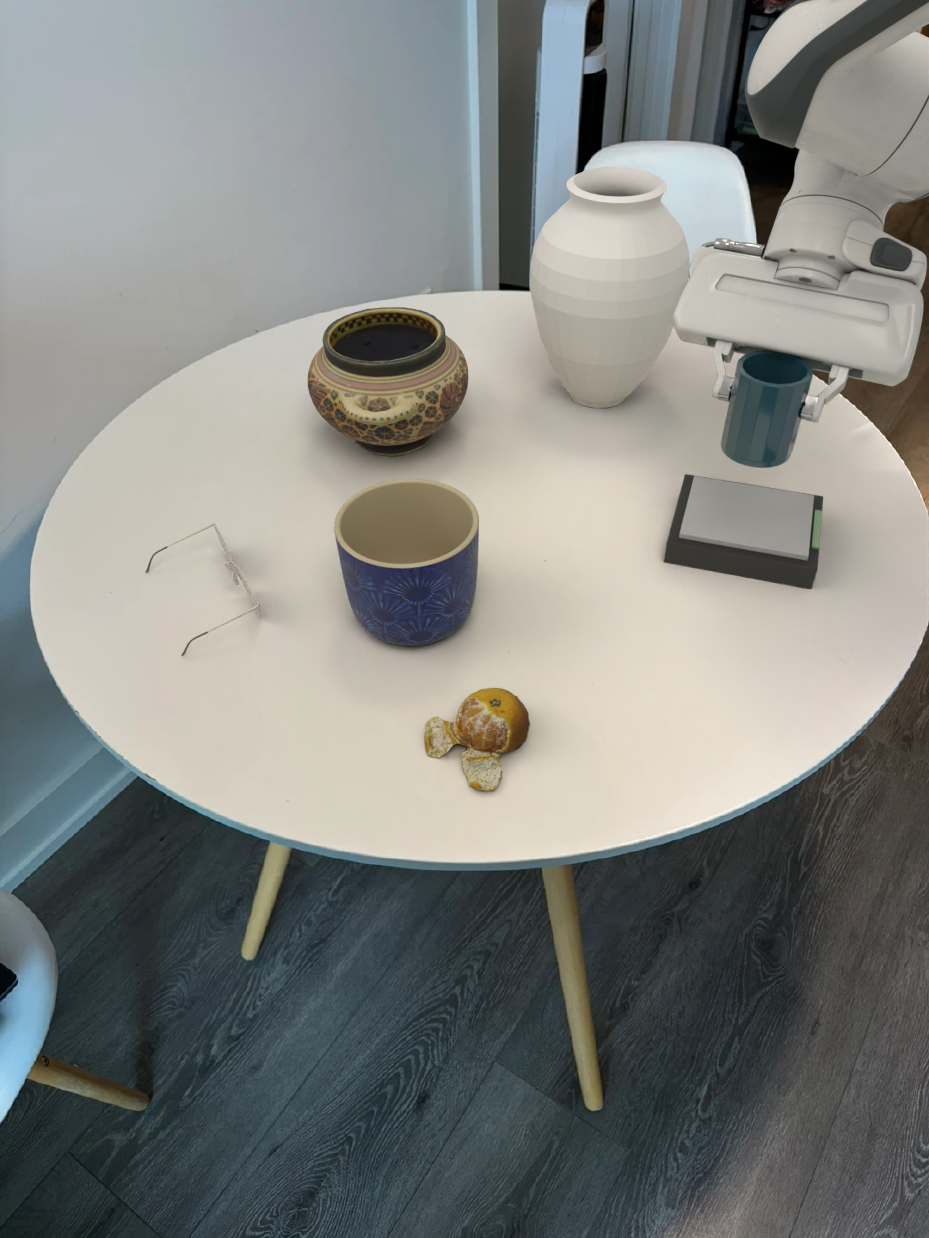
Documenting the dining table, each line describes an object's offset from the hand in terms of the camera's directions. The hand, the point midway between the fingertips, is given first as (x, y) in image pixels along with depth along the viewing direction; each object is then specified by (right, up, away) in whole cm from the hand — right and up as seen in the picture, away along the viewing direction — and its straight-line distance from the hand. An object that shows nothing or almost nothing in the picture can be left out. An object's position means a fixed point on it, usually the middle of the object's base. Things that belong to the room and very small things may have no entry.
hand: (764, 409), depth 80 cm
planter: (-31, -18, +7) cm, 36 cm away
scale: (+2, -10, +13) cm, 17 cm away
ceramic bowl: (-34, +3, +29) cm, 45 cm away
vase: (-9, +10, +35) cm, 37 cm away
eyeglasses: (-51, -16, +9) cm, 54 cm away
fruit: (-25, -28, -5) cm, 38 cm away
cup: (0, -3, +3) cm, 4 cm away
